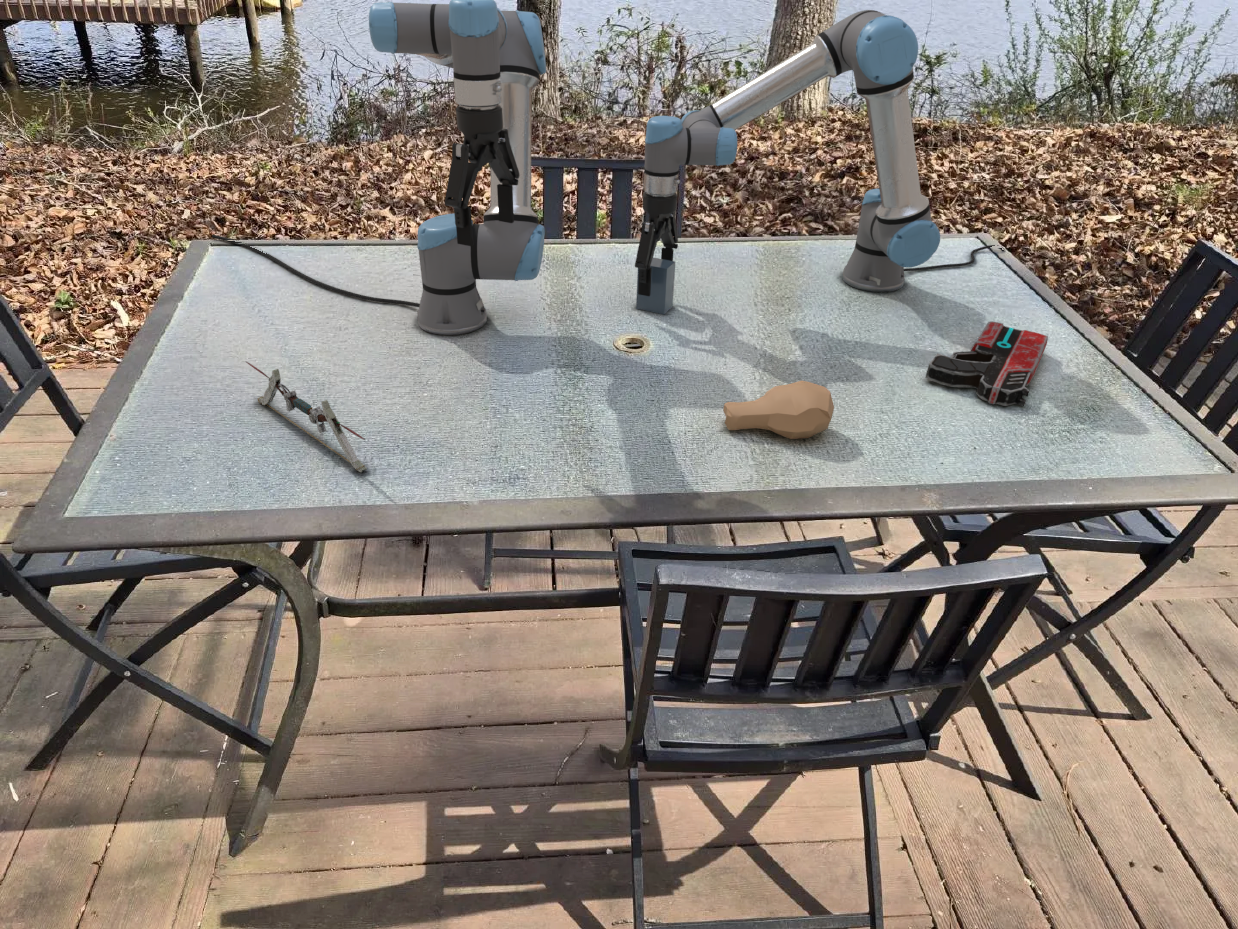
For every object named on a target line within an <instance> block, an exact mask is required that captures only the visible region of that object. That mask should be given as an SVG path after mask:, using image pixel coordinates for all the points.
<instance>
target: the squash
mask: <svg viewBox="0 0 1238 929" xmlns="http://www.w3.org/2000/svg"><path fill="white" fill-rule="evenodd" d="M722 409H723V410H722V411H723V413H724V416H725V419H724V425H725V427H726V429H727V430H728V431H738V430H747V429H748V430H749V429H761V430H766V431H772V432H773V433H774V434H776V435H779V436H781V437H784V438H787V439H790V440H798V439H799V440H800V439H801V440H802V439H810V438H811V437H814V436H816V435H818V434H820V433H821V432H824V431H826V430H828V429H829V426H830V423H831V421H832V418H833V414H834V410H835V405H834V401H833V397H832V393H831V391H830V390H829V389H828V388H827V387H826V386H823V385H820V384H816V383H814V382H812V381H806V380H798V381H795V382H792V383H788V384H781V385H775V386H773V387H772V388H770V389H768V390H767V391H766V392H765V393H764V394H763V395H762V396H761V397H758V398H757V399H755V400H749V401H748V400H747V401H741V402H739V401H736V402H735V401H727V402H725V403H724V404H723V408H722Z"/></svg>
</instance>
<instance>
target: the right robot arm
mask: <svg viewBox="0 0 1238 929" xmlns="http://www.w3.org/2000/svg"><path fill="white" fill-rule="evenodd" d="M918 55H919V42H918V38H917V35H916V33H915V31H914V30H913V29H912V27H911V25H909V24H908V23H907V22H905V21H904V20H903V19H902V18H899V17H897V16H894V15H888V14H885V13H882V12H881V11H878V10H875V9H865V10H859V11H857V12H854V13H852V14H850V15H848V16H847V17H844V18H843V19H841V20H839V21H838V22H836V23H833V25H831V26H829V27H828V28H827V29H825V30H823V31H821V32H820V33H818V34H816V35H814V39H813V41H812V43H810V44H809V45H808V46H805V47H804V48H803V49H800V50H799V51H797V52H796V53H794V54H792V55H791V56H789V57H788V58H785V59H784V60H783V61H781V62H779V63H777V64H776V65H774V66H772V67H771V68H769V69H768V70H766V71H764V72H762V73H761V74H759V75H757V76H756V77H755V78H753V79H751V80H749V81H747V82H746V83H744V84H743V85H741V86H740V87H738V88H736V89H734V90H733V91H731V92H729V93H727V94H726V95H724V96H723V97H721V98H719V99H718V100H716V101H715V102H714V101H713V103H711V104H709V105H707V106H706V107H704V108H702V109H701V110H699V109H698V110H696V109H695V110H690V111H688V112H686V113H685V114H684V115H683V116H682V117H681V118H679V117H677V116H673V115H672V116H670V115H655V116H652V117H650V118H649V119H648V120H647V122H646V130H645V139H644V167H643V184H642V190H643V191H644V192H643V194H642V209H643V211H644V212H646V213H647V214H648V219H647V221H642V223H641V231H640V232H641V233H640V238H639V243H638V248H637V253H636V257H635V263H634V268H636V269H638V268H639V285H638V294H639V295H644V296H650V293H651V273H652V268H650V265H651V262H652V258H654V254H655V252H656V249H657V245H658V242H659V241H661V243H662V246H663V247H661V253H660V255H661V256H660V259H664V260H669V261H674V249H675V250H677V249H678V248H679V244H678V242H679V237H678V231H677V230H678V228H677V221H676V211H677V207H678V194H677V192H678V188H679V184H680V183H681V180H680V179H679V174H680V166H717V167H719V166H728V165H732V164H733V163H734V162H735V161H736V158H737V153H738V135H737V132H736V130H738V129H740V128H741V127H743V126H745V125H747V124H749V123H750V122H751V121H752V122H753V121H754V120H755V119H757V118H759V117H760V116H762V115H764V114H765V113H768V112H769V111H770V110H772V109H774V108H776V107H777V106H780V105H781V104H783V103H784V102H786V101H788V100H789V99H791V98H793V97H795V96H796V95H798V94H800V93H801V92H803V91H805V90H807V89H809V88H810V87H812V86H814V85H815V84H817V83H819V82H821V81H822V80H824V79H825V78H827V77H829V78H831V79H832V78H834V79H835V78H836V77H838V76H840V75H842V74H843V73H846V72H849V71H853V77H854V82H855V89H856V94H857V96H859V97H861V98H863V99H864V100H865V105H866V112H867V118H868V124H869V131H870V138H871V143H872V148H873V149H872V150H873V157H874V164H875V170H876V176H877V184H878V188H872V189H869V190H867V191H866V192H865V193H864V195H863V196H864V197H863V199H862V202H861V210H860V215H859V220H858V226H857V233H856V239H855V245H854V248H853V252H852V253H851V255H850V256H849V259H848V261H847V263H846V265H845V266H844V268H843V271H842V275H841V279H842V281H843V282H844V283H845V284H847V285H848V286H851V287H852V288H854V289H858V290H861V291H865V292H874V293H889V292H896V291H898V290H900V289H902V288H903V286H904V283H905V276H906V275H905V272H916V271H927V270H935V269H943V268H954V267H965V266H969V265H971V264H973V263H974V262H975V253H976V252H980V251H984V250H986V249H991V248H990V247H992V246H995V245H997V246H999V245H998V244H989V245H985V246H981V247H978V248H975V249H973V250H972V251H971V252H970V258H971V260H969V261H967V262H960V263H948V264H939V265H931V266H930V265H929V266H922V267H919V266H920V265H923V264H924V263H926V262H928V261H929V260H930V259H931V258H932V257H933V255H934V254H935V253H936V252H937V250H938V248H939V246H940V243H941V232H940V229H939V227H938V226H937V224H936V223H935V222H934V221H932V215H931V214H932V213H931V205H930V200H929V198H928V197H927V196H926V195H923V194H922V192H921V184H920V183H921V182H920V177H919V168H918V160H917V153H916V152H917V151H916V145H915V136H914V130H913V122H912V112H911V105H910V97H909V89H908V88H909V87H910V86H911V84H912V83H913V81H914V80H915V74H914V65H916V62H917V60H918ZM1002 248H1003V249H1004V250H1005V248H1004V247H1002ZM1002 248H998V249H999V250H1000V251H1001V252H1004V251H1003V250H1002Z"/></svg>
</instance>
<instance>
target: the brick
mask: <svg viewBox="0 0 1238 929" xmlns="http://www.w3.org/2000/svg"><path fill="white" fill-rule="evenodd" d="M650 268H652V273H651V293H650V296H644V295H639V294H638V285H639V268H637V278H636V300H635V301H636V305H635V309H636V310H641V311H645V312H650V313H655V314H659V315H666V313H668V312H669V311H670V310H671V308H673V307H674V306H673V305H674V291H675V277H676V276H675V275H676V274H675V273H676V261H675V260H673V261H669V260H664V259H661V258H658V257H653V258H652V262H651V265H650Z"/></svg>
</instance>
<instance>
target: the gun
mask: <svg viewBox="0 0 1238 929" xmlns="http://www.w3.org/2000/svg"><path fill="white" fill-rule="evenodd" d="M1048 340H1049V336H1048V335H1046V334H1042V333H1039V332H1036V331H1031V330H1028V329H1018V328H1014V327H1010V326H1006V325H1004V323H1002V322H998V321H993V320H992V321H990V320H989V321H987V323H986V325H985V326H984V327H983V330H982V331H981V332H980V334H979V336H978V337H977V339H976V341H975V342H974V343H973V346H972V347H971V349H970V351H969V350H968V351H954V352H953V353H952V354H951V356H950V357H949V356H946V355H944V354H942V353H941V354H940V353H936V354H935V355H934V357H933V358H932V360H931V361H930V362H929V363H928V366H927V370H926V373H925V379H926V380H929V381H931V382H933V383H937V384H939V385H942V386H947V387H950V388H974V389H976V393H975V394H976V395H977V396H978V398H980V399H981V400H982V401H986V402H987V403H988V404H990V405H995V404H996V405H1000V406H1003V407H1007V406H1011V405H1017V406H1021V407H1025V405H1026V402H1027V400H1026V399H1025V398H1024V397H1028V396H1029V395H1030V394H1029V393H1030V389H1029V388H1027V387H1028V386H1029V385H1030V383H1031V381H1032V380H1033V379H1034V376H1035V375H1036V372H1037V370H1038V368H1039V365H1040V362H1041V359H1042V357H1043V355H1044V352H1045V350H1046V347H1047V345H1048Z"/></svg>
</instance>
